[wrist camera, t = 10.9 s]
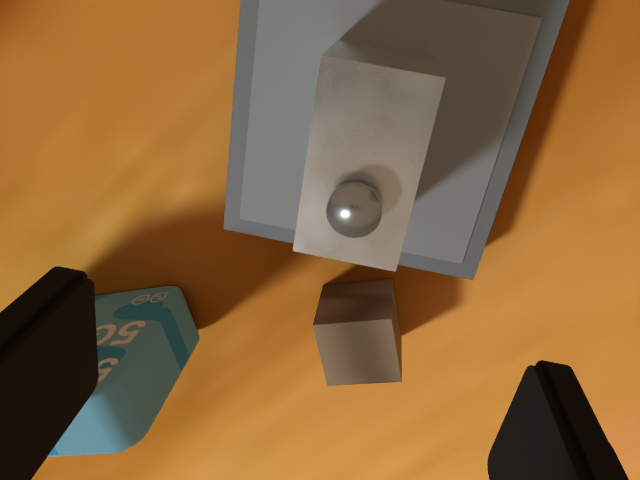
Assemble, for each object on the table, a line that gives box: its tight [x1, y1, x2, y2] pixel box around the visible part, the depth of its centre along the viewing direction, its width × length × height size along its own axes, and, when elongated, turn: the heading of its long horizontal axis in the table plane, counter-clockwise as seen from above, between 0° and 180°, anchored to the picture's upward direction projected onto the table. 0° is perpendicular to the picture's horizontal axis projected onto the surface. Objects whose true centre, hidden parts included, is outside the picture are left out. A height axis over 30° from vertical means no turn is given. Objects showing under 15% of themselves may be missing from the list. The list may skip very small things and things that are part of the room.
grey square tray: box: [223, 0, 570, 280], centre depth 30 cm, size 16×16×3 cm
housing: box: [293, 39, 446, 272], centre depth 25 cm, size 9×5×8 cm, turn 171°
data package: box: [47, 286, 199, 457], centre depth 36 cm, size 12×4×12 cm, turn 103°
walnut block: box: [313, 278, 402, 386], centre depth 36 cm, size 5×5×5 cm
